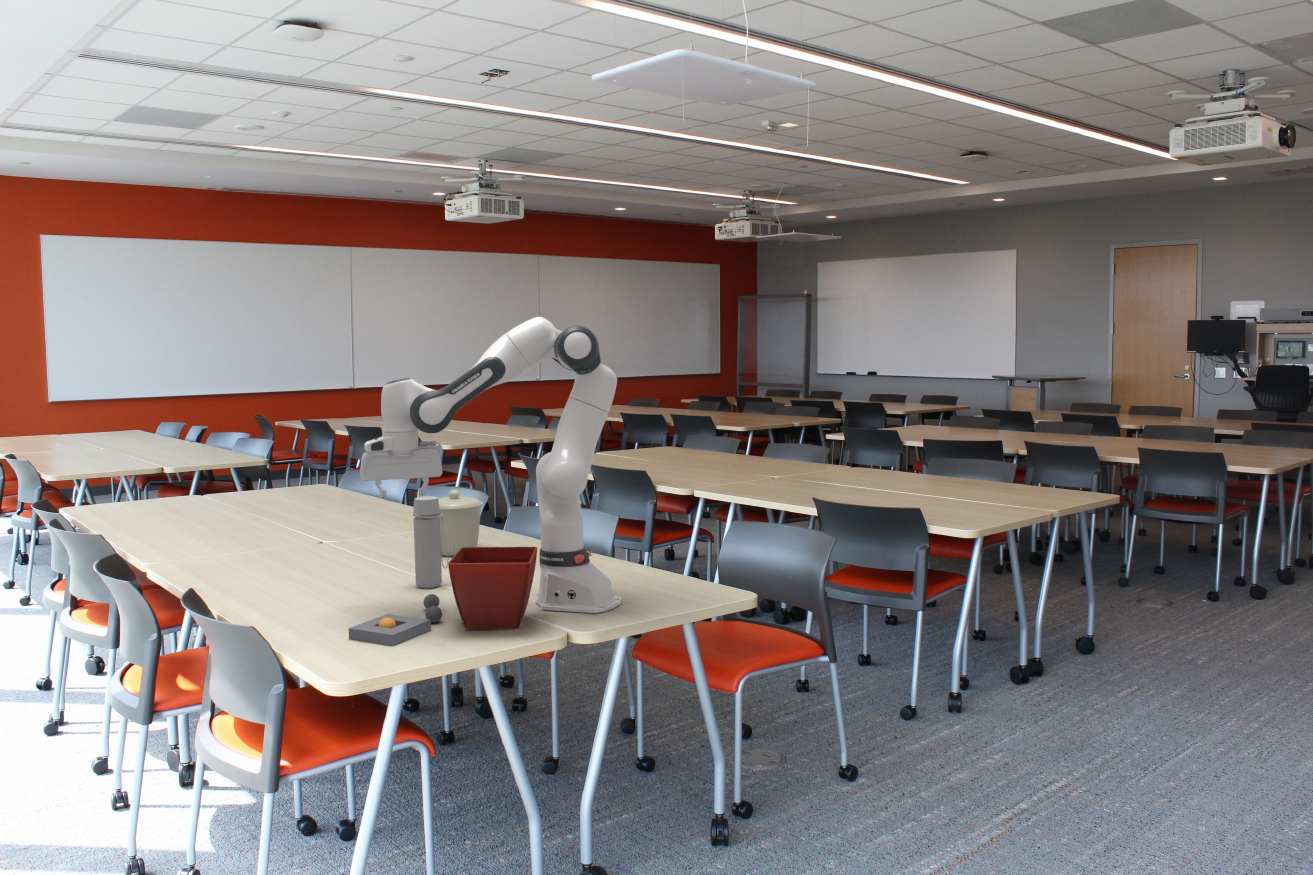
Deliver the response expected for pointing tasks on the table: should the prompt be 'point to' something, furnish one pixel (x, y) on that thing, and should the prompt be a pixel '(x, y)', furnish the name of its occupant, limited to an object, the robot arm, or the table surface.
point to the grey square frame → (390, 630)
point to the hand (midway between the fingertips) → (402, 496)
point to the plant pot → (492, 585)
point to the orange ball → (387, 623)
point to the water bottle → (427, 542)
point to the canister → (459, 522)
